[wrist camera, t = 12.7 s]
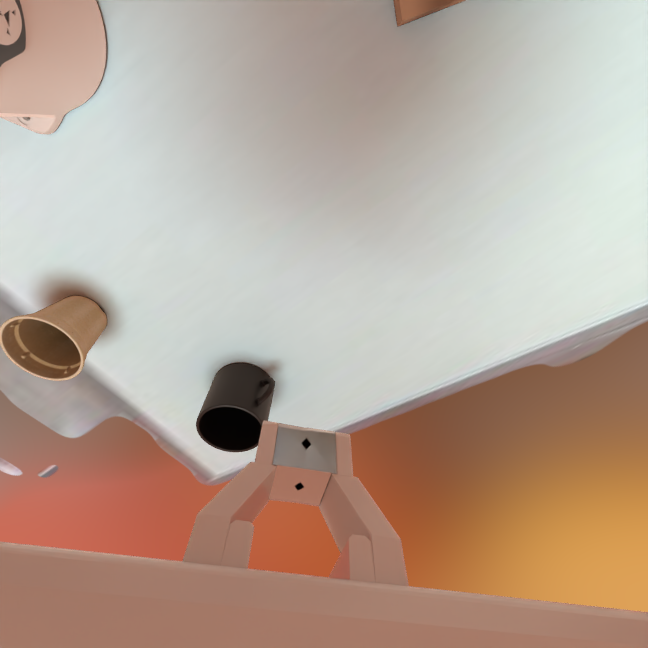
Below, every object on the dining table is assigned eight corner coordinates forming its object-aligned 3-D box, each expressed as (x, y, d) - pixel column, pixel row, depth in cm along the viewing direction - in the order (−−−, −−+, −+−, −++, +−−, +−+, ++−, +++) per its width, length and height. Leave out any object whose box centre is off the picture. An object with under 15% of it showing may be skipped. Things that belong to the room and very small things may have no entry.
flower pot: (36, 283, 47) (-19, 316, 39) (106, 283, 47) (64, 316, 39) (64, 341, 52) (20, 380, 44) (128, 341, 52) (94, 381, 44)
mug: (298, 381, 55) (293, 426, 48) (244, 415, 59) (231, 461, 52) (256, 342, 51) (243, 384, 44) (201, 381, 55) (181, 425, 48)
